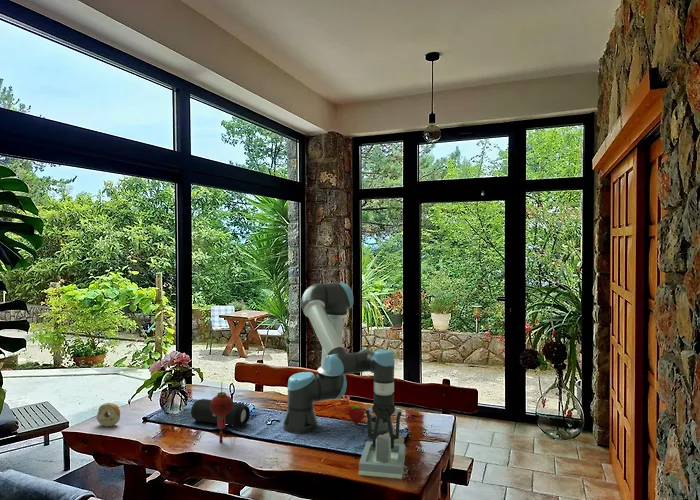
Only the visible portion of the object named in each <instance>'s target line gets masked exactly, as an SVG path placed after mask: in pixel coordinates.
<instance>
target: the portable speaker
mask: <svg viewBox="0 0 700 500" xmlns="http://www.w3.org/2000/svg"><path fill="white" fill-rule="evenodd" d="M211 400H212V399H206V398H201V399H197V400H196V401H194V402H193V404H192V406H191V410H190V414H191V418H193V419H194V421H197V422H200V421H202V422H201V423H206V422H210V423H209V424H213V423H217V415H214V414H213V413H212V412H211V411H210V402H211ZM250 412H251V411H250V407H249V406H248V405H246V404H244V403H241V402H235V401H234V402H233V408H232V410H231V411H230V413H228V414H227V415H226V417H225V424H228V425H233V426H232V427H235V426H240V427H243V426H245V425H246V424H247V423H248V421H249V419H250V414H251V413H250Z"/></svg>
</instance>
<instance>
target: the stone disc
mask: <svg viewBox="0 0 700 500" xmlns="http://www.w3.org/2000/svg"><path fill="white" fill-rule="evenodd" d="M120 419H121V409H120V407H119V405H117V404H116V403H114V402H113V403H112V402H105V403H103V404H101V405H99V407H98V412H97V414H96V420H97V422H98V423H99V425H100V426H101V425H102V426H103V427H108V426H110V427H113V426H115V425H116V424H118V423H119V421H121V420H120Z"/></svg>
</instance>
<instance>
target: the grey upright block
mask: <svg viewBox="0 0 700 500" xmlns="http://www.w3.org/2000/svg"><path fill="white" fill-rule="evenodd" d="M389 438H390V436H389V435H379V437H378V440H377V458H376V461H380V462H388V445H389Z"/></svg>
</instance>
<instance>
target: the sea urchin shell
mask: <svg viewBox="0 0 700 500" xmlns="http://www.w3.org/2000/svg"><path fill="white" fill-rule="evenodd" d="M393 432H394V435H395V434H396V431H393ZM384 435H389V436H390V434H389V432H388V433H386V434H384ZM394 443H396V444H405V439H404V436H403V435H402V434H400V433H399V438H398V439H395V440H394Z"/></svg>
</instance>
